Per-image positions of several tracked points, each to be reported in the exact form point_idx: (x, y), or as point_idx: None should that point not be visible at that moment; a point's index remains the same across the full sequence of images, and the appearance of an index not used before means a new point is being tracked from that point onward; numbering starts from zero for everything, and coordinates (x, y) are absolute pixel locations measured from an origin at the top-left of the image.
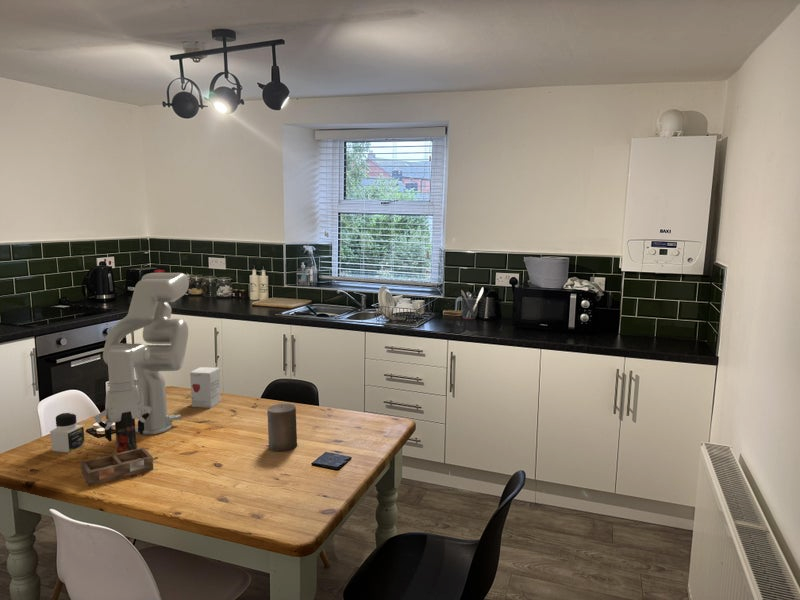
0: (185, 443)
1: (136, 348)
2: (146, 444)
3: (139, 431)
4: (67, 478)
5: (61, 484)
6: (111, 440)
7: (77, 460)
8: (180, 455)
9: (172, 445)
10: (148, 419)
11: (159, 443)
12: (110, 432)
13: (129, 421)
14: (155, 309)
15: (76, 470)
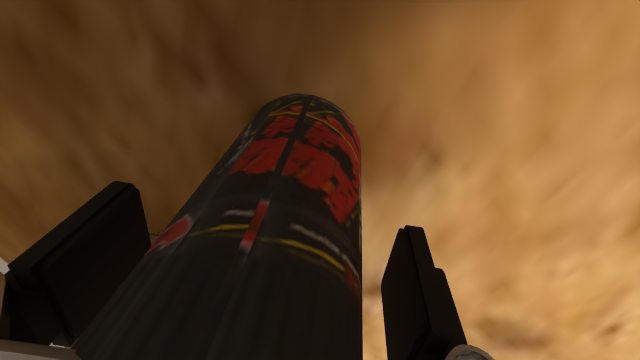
0: (614, 252)
1: None
2: (477, 87)
3: (391, 273)
4: (18, 213)
5: (8, 244)
6: (150, 246)
7: (11, 12)
8: (466, 331)
9: (551, 226)
10: None
11: (541, 140)
12: (95, 316)
13: None
14: None
15: (39, 163)
